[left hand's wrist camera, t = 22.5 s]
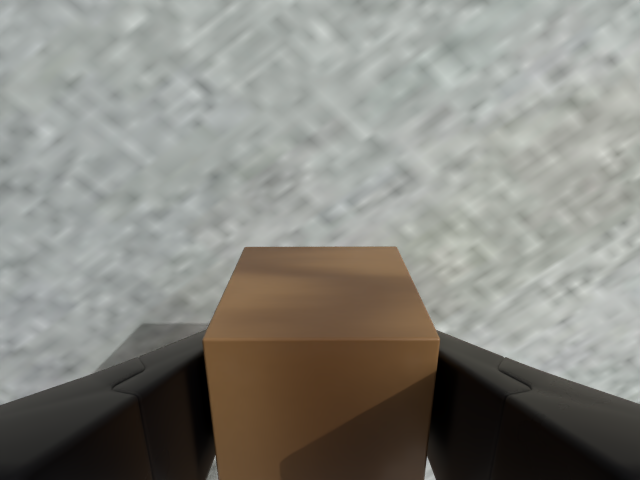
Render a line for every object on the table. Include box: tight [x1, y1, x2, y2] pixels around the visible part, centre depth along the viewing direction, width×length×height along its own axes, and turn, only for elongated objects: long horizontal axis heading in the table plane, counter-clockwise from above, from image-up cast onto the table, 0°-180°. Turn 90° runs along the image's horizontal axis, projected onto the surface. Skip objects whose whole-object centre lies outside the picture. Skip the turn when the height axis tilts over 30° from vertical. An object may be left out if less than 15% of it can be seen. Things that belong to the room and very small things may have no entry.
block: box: [202, 247, 440, 480], centre depth 10 cm, size 4×4×4 cm
